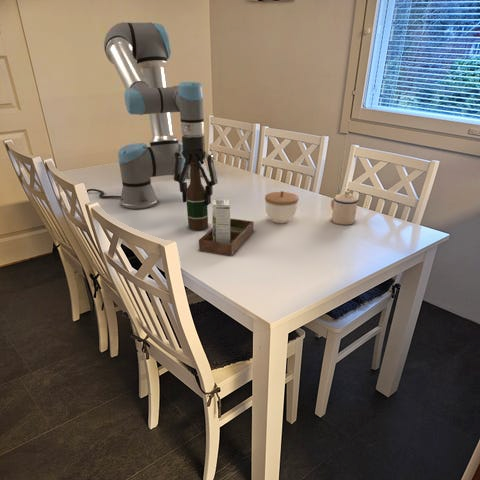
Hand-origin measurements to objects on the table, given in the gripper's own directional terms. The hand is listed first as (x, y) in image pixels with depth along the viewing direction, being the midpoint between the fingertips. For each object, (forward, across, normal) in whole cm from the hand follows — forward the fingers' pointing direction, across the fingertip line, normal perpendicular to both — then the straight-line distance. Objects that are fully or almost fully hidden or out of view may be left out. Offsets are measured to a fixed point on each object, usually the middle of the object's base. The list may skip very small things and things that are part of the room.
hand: (196, 202), depth 152 cm
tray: (+9, +15, -8) cm, 19 cm away
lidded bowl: (+10, +27, +18) cm, 34 cm away
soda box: (+10, -45, +74) cm, 87 cm away
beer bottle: (+10, 0, 0) cm, 10 cm away
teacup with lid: (+10, +49, +26) cm, 56 cm away
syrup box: (+9, +15, -13) cm, 22 cm away
